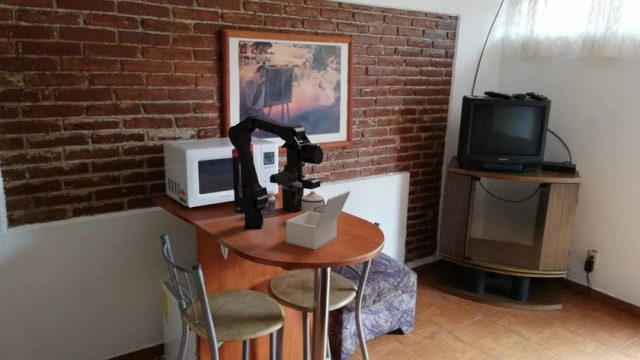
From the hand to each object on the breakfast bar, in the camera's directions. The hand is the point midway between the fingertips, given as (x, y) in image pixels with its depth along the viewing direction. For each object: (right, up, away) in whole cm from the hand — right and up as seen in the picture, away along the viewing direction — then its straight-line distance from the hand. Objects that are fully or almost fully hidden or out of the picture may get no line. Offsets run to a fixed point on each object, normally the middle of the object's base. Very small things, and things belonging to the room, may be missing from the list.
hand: (294, 204), depth 172 cm
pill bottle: (-12, -6, +27) cm, 31 cm away
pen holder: (-3, -4, +36) cm, 36 cm away
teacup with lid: (+7, -7, +24) cm, 26 cm away
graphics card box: (-24, -4, +38) cm, 45 cm away
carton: (+6, -13, -2) cm, 14 cm away
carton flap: (+13, -1, -9) cm, 16 cm away
